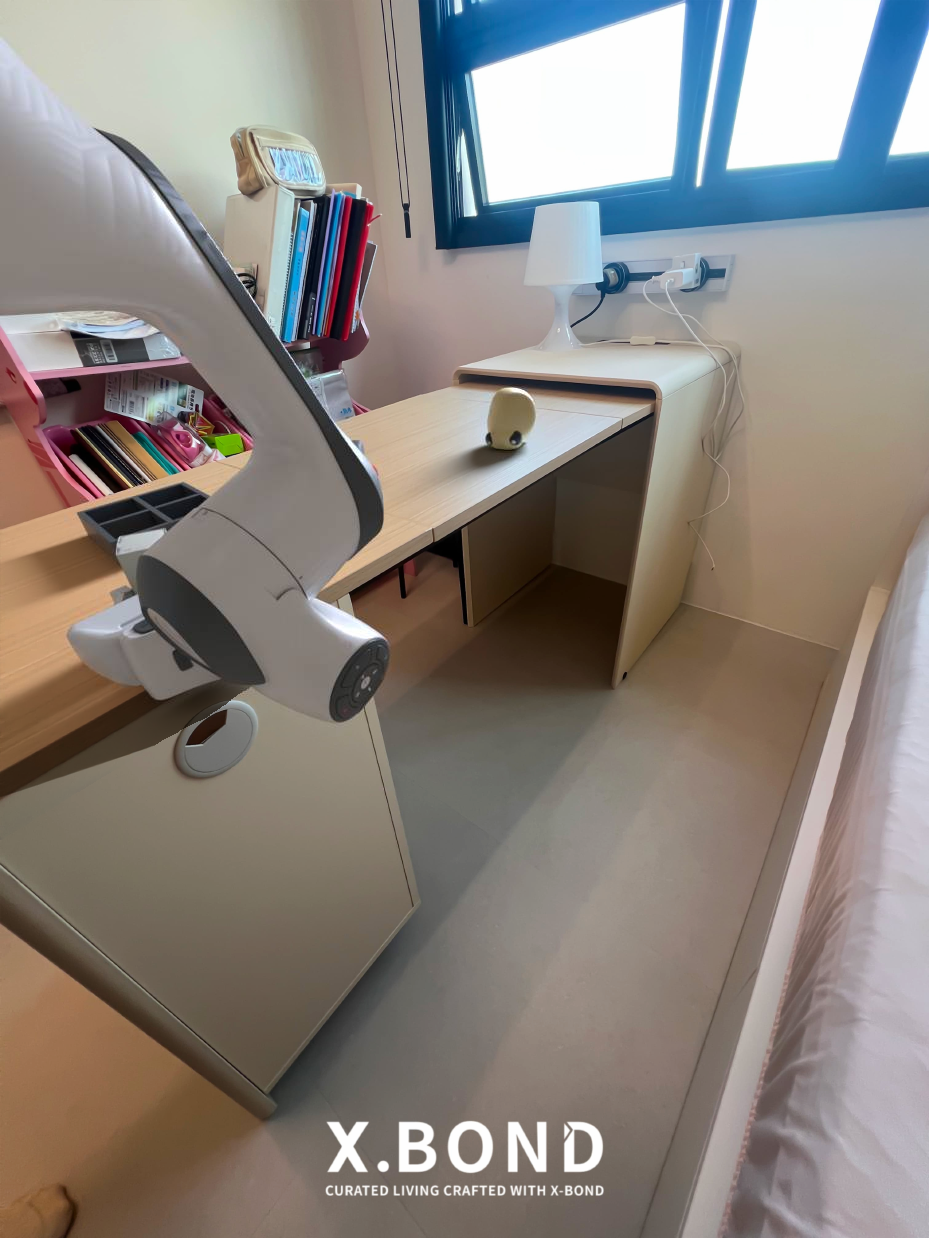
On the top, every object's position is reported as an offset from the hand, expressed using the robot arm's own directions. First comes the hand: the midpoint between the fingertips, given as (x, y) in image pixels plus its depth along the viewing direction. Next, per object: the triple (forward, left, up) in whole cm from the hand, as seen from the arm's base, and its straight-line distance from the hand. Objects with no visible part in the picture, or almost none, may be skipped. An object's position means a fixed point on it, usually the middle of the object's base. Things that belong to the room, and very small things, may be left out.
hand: (154, 579), depth 52 cm
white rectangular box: (0, -1, -6) cm, 6 cm away
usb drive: (+44, +34, -6) cm, 56 cm away
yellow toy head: (+71, +11, -6) cm, 72 cm away
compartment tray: (+8, +26, -6) cm, 28 cm away
